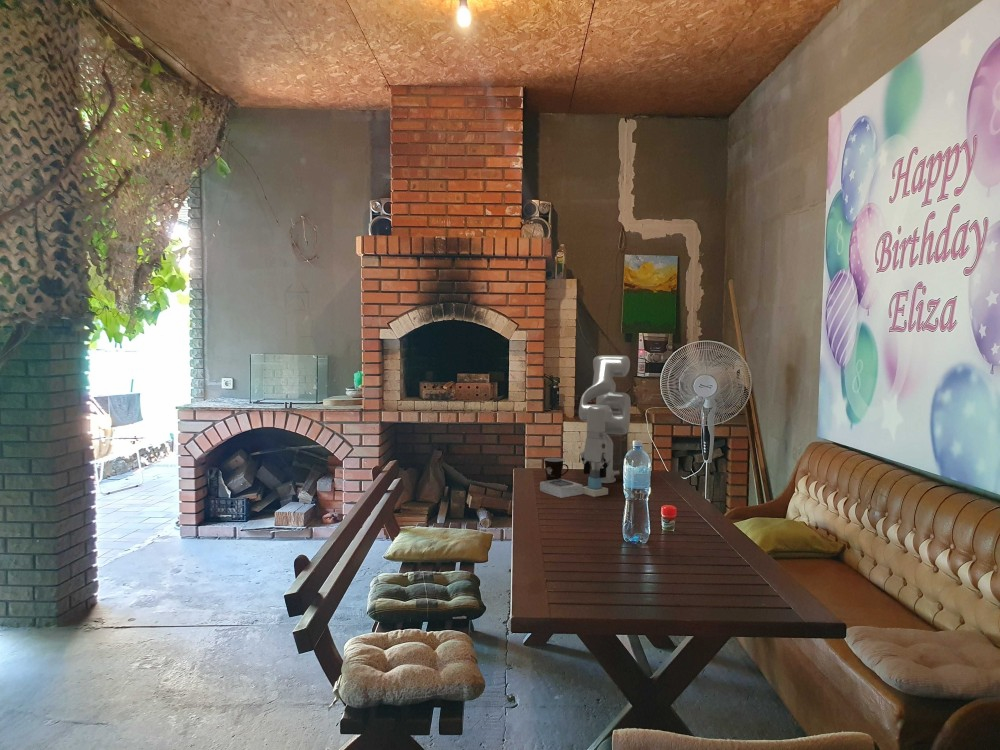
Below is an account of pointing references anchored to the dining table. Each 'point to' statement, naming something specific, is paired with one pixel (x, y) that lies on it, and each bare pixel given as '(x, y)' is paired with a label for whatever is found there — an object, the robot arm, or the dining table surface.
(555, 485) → the port panel
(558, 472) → the coffee mug
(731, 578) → the dining table surface
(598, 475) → the plug
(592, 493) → the cream square frame
